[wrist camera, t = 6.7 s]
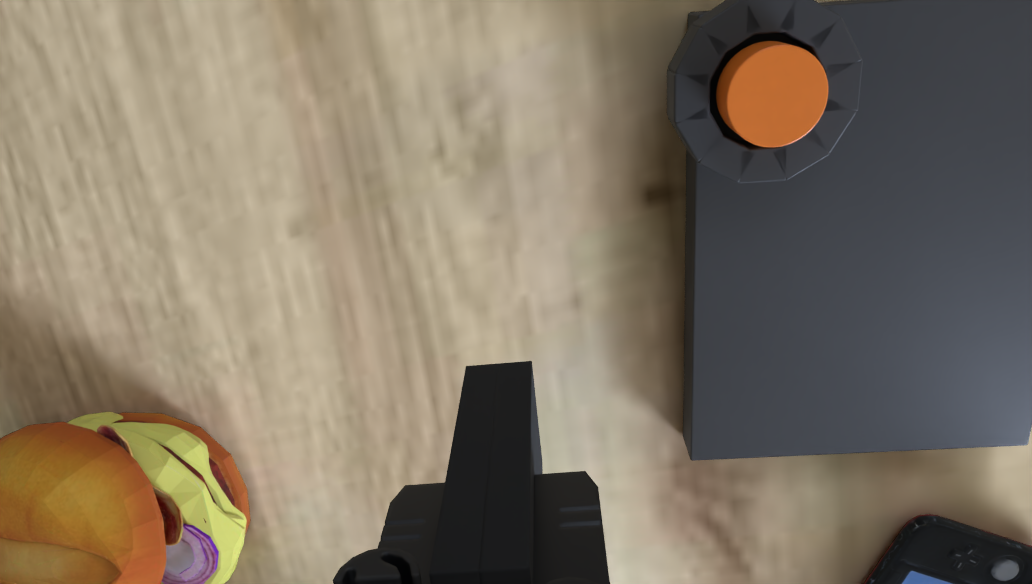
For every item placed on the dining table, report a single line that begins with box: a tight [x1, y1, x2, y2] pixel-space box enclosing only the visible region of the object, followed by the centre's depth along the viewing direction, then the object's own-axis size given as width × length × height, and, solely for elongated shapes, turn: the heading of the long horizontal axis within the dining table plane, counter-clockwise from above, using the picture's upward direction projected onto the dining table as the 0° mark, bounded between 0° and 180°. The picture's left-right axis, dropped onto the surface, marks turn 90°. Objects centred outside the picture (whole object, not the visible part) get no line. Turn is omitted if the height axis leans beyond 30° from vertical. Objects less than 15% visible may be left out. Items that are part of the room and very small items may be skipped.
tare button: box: [716, 41, 828, 147], centre depth 25 cm, size 3×3×2 cm
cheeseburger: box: [0, 412, 250, 584], centre depth 33 cm, size 10×11×10 cm
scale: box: [667, 0, 1032, 460], centre depth 29 cm, size 19×15×4 cm
